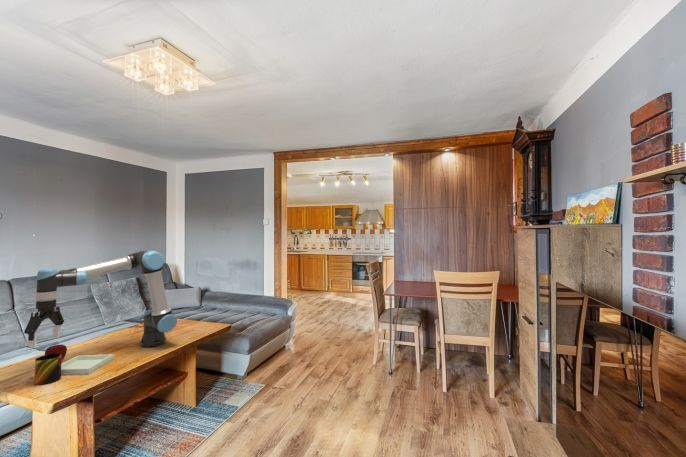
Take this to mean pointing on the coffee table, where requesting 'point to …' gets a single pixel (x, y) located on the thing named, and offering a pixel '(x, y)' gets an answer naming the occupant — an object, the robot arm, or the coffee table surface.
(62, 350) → the apple
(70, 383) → the coffee table surface
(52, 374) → the mug
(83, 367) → the tray
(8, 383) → the coffee table surface
